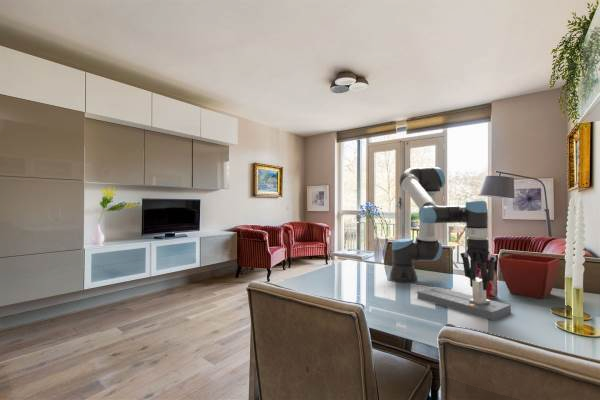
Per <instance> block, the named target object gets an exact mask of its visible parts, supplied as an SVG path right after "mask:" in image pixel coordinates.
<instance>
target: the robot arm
mask: <svg viewBox="0 0 600 400" xmlns="http://www.w3.org/2000/svg"><path fill="white" fill-rule="evenodd" d="M445 183H446V176H445V173H444V171H443V169H441V168H440V167H436V166H434V167H433V166H427V167H424V166H423V167H411V168H410V167H409V168H407V169H406V170H404V171H403V172H402V174H401V175H400V177H399V185H400V187H401V189H402V190H403V191H405V192H406V193H407V194H408V195H409V197H410V198H411V199H412V201H413V202H414V204H415V205H416V207H417V208H418V218H419V223H418V224H419V225H418V226H419V229H418V235H417V236H416V237H415V240H414V238H399V239H398V238H397V239H395V240H393V241H392V243H391V244H392V245H391V251H392V252H391V253H392V254H391V255H392V256H391V257H392V267H391V270H390V273H389V279H390V280H391V279H392V280H391V281H393V280H395V281H394V282H397V281H399V282H398V283H406V282H409V283H416V282H418V281H419V280H418V275H417V271H416V269H415V266H414V265H415V263H414V262H433V261H434V262H435V261H438V260H439V259H440V258H441V256H442V253H443V247H442V243H441V241H439V238H438V237H437V236H436V227H437V226H436V224H449V223H451V224H452V223H453V224H457V223H459V224H460V223H462V224H463V223H465V224H466V227H465V228H466V237H467V239H466V246H467V249H466V251H465V252H462V253H460V257H461V259H462V263H463V264H462V265H463V270H464V271H463V272H464V277H465V278H468V279H469V282H470V283H469V285H470V287H471V288H472V291H473V283H472V280H476V279H478V277H476V276H477V268H478V267H477V266H478V265H477V264H479V269H480V270H481V276H482V281H481V282H480V290H481V298H486V290H488V281H492V280H493V279H494V271H495V266H496V265H495V264H496V262H497V259H498V257H497V256H494V255H492V254H491V252H490V251H489V249H490V246H489V242H490V241H489V239H488V238H489V226H488V225H489V221H488V220H489V219H488V217H489V216H488V214H489V213H488V212H489V211H488V204H487V202H486V201H485V200H467V201H466V202H465V205H459V204H458V205H439V204H438V203H437V200H438V199H437V198H438V194H439V193H440V191H441V188H443V187H444V186H445ZM487 259H488V266H487ZM487 269H488V273H487ZM480 270H479V271H480ZM486 299H487V298H486Z"/></svg>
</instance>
